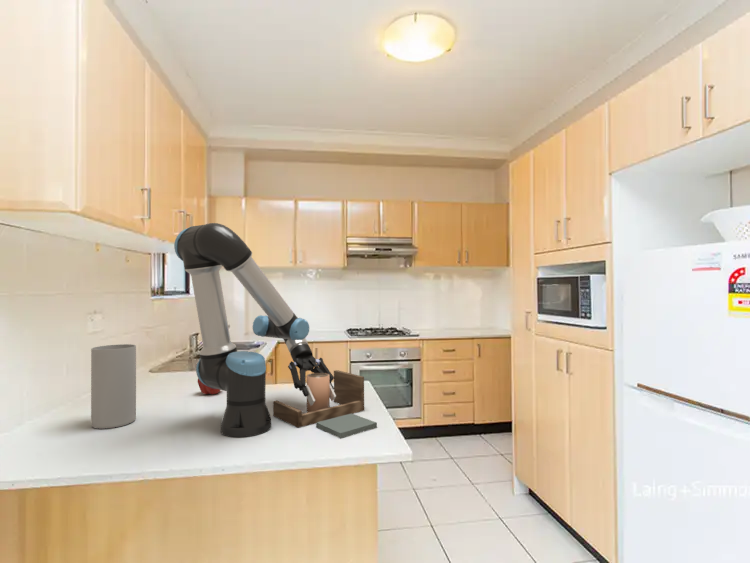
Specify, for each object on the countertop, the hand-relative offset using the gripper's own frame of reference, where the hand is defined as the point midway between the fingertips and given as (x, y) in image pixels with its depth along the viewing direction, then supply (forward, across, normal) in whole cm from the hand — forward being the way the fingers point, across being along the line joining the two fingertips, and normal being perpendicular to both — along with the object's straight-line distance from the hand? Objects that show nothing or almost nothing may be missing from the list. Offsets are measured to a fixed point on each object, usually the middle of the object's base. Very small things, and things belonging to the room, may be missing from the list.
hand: (323, 400), depth 144 cm
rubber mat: (+14, +2, +8) cm, 16 cm away
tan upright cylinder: (+1, 0, -6) cm, 6 cm away
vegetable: (-36, +19, -44) cm, 60 cm away
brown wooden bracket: (+1, 0, -6) cm, 6 cm away
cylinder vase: (-24, +56, -32) cm, 69 cm away
